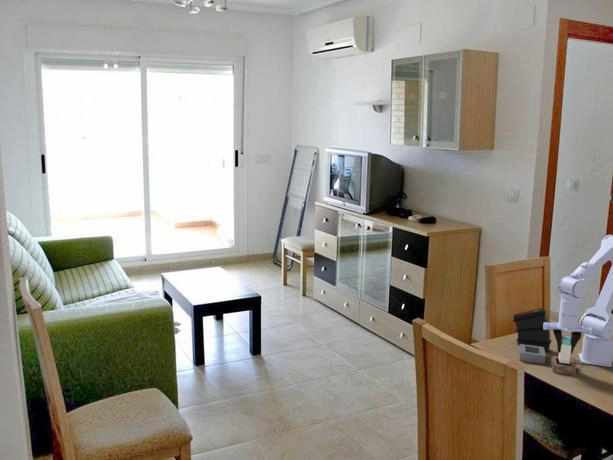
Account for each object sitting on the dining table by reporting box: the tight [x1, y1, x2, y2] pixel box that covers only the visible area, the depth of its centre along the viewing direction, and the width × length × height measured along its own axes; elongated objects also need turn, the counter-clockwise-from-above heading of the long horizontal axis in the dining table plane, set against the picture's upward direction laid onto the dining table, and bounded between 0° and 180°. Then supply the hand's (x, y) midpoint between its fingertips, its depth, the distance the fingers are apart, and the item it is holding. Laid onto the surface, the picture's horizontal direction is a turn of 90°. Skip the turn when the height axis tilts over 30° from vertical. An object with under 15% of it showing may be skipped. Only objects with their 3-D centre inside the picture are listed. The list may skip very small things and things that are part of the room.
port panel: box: [518, 344, 546, 365], centre depth 200 cm, size 8×8×3 cm
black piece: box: [512, 307, 552, 352], centre depth 209 cm, size 4×13×15 cm, turn 54°
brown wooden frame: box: [550, 355, 576, 376], centre depth 192 cm, size 7×8×2 cm
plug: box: [558, 335, 572, 364], centre depth 190 cm, size 3×4×8 cm
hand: (564, 352), depth 191 cm, fingers closed on plug, 3 cm apart
